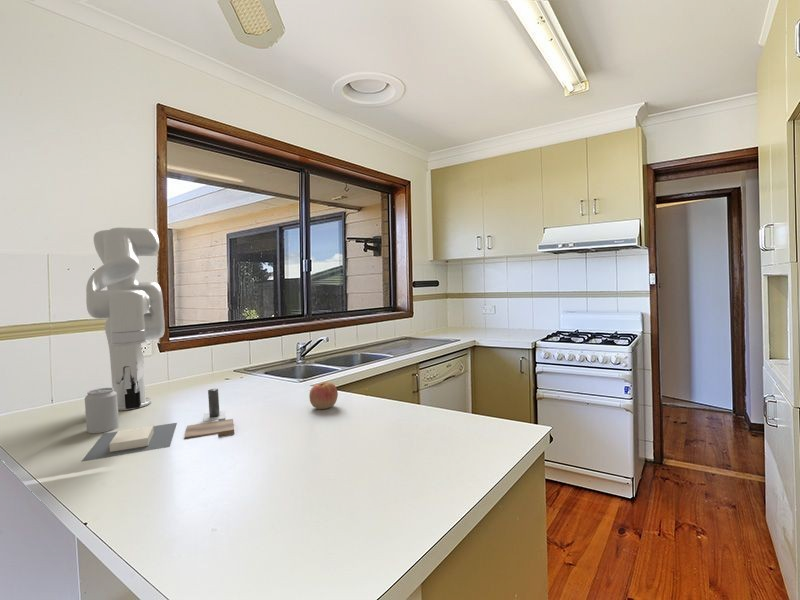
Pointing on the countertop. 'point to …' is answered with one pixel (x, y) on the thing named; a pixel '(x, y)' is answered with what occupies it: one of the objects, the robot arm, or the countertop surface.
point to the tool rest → (210, 429)
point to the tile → (131, 438)
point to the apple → (323, 395)
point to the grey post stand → (214, 407)
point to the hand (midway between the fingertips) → (133, 407)
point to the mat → (158, 440)
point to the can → (101, 410)
